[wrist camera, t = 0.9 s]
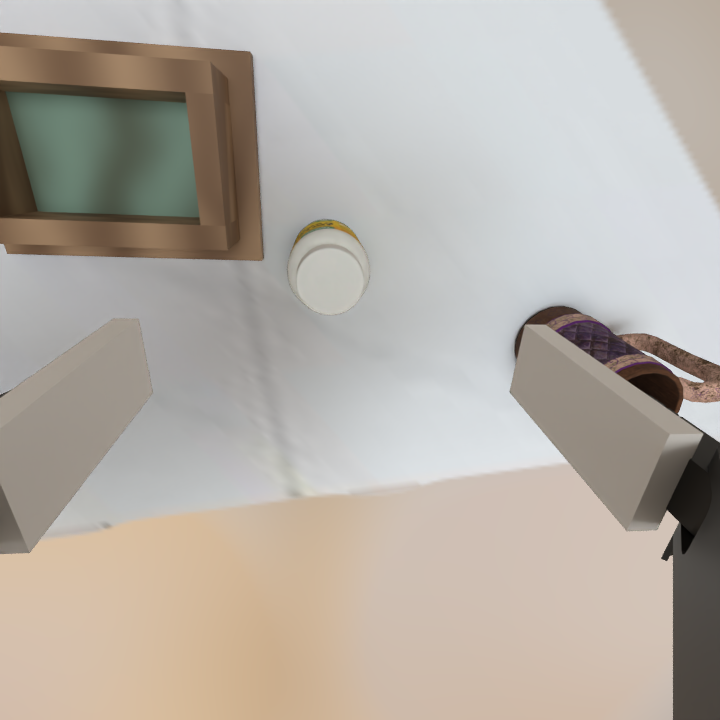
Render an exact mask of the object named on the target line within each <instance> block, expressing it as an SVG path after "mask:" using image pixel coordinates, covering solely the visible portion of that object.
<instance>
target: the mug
mask: <svg viewBox="0 0 720 720" xmlns="http://www.w3.org/2000/svg"><path fill="white" fill-rule="evenodd" d="M526 325H547V326H548V327H549V328H551V329H552V330H554V331H555V332H557V333H558V334H560V335H561V336H563V337H564V338H565V339H567V340H568V341H570V342H571V343H573V344H574V345H576V346H577V347H578V348H580V349H581V350H583V351H584V352H586V353H587V354H589V355H590V356H592V357H593V358H594V359H596V360H597V361H599V362H600V363H602V364H603V365H605V366H606V367H608V368H609V369H610V370H612V371H613V372H615V373H616V374H618V375H619V376H621V377H622V378H623V379H625V380H626V381H628V382H629V383H631V384H632V385H634V386H635V387H637V388H638V389H639V390H641V391H642V392H644V393H646V394H648V395H650V396H652V397H654V398H655V399H656V400H658V401H659V402H661V403H662V404H664V405H665V406H666V408H670V409H671V410H673V411H674V412H675V413H678V412H679V410H680V407H681V404H682V401H683V398H684V399H686V400H689V401H692V402H705V403H707V402H716V401H720V366H719V365H716V364H714V363H712V362H709V361H707V360H704V359H702V358H700V357H697V356H695V355H692V354H690V353H688V352H686V351H684V350H682V349H680V348H678V347H676V346H674V345H672V344H670V343H668V342H666V341H664V340H662V339H660V338H658V337H655V336H652V335H648V334H625V335H617V336H616V335H614V334H613V333H612V332H611V331H610V329H608V328H607V327H606V326H604V325H603V324H602V323H600V322H599V321H597V320H595V319H594V318H592V317H591V316H587V315H583V314H582V313H580V312H579V311H577V310H576V309H573V308H569V307H565V306H562V307H552V308H549V309H547V310H544V311H541V312H539V313H538V314H537V315H535V316H534V317H532V318H531V319H530V320H529V321H528V322H527V323H526ZM524 327H525V326H524ZM524 327H523V328H522V329H521V331H520V333H519V336H518V338H517V340H516V347H515V354H516V358H517V357H518V353H519V348H520V344H521V340H522V335H523V331H524ZM639 350H643V351H646V352H649V353H651V354H653V355H655V356H657V357H659V358H661V359H662V360H664V361H666V362H668V363H670V364H672V365H674V366H675V367H677V368H679V369H681V370H683V371H685V372H687V373H689V374H691V375H693V376H695V377H698V378H700V379H702V380H703V381H704V382H703V383H697V382H692V381H689V380H686V379H684V378H681V377H677V376H676V375H674V374H673V373H672V371H671V370H670V369H668V368H667V367H666V366H664V365H663V364H661V363H660V362H658V361H657V360H655V359H654V358H652V357H650V356H647V355H645V354H644V353H642V352H641V351H639Z"/></svg>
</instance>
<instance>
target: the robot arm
mask: <svg viewBox="0 0 720 720" xmlns="http://www.w3.org/2000/svg"><path fill="white" fill-rule="evenodd" d="M152 393H153V390H152V385H151V380H150V375H149V370H148V365H147V360H146V355H145V350H144V344H143V339H142V334H141V329H140V324H139V319H112V320H111V321H109V322H108V323H107V324H105V325H104V326H102V327H101V328H99V329H98V330H97V331H95V332H94V333H92V334H91V335H89V336H88V337H87V338H85V339H84V340H82V341H81V342H79V343H78V344H77V345H75V346H74V347H72V348H71V349H69V350H68V351H67V352H65V353H64V354H62V355H61V356H59V357H58V358H57V359H55V360H54V361H52V362H51V363H49V364H48V365H47V366H45V367H44V368H42V369H41V370H39V371H38V372H37V373H35V374H34V375H32V376H31V377H29V378H28V379H27V380H25V381H24V382H22V383H21V384H19V385H18V386H17V387H15V388H14V389H12V390H10V391H8V392H6V393H3V394H1V395H0V554H12V553H30V552H31V550H32V549H33V548H34V547H35V545H36V544H37V543H38V541H39V540H40V539H41V537H42V536H43V535H44V534H45V532H46V531H47V530H48V528H49V527H50V526H51V524H52V523H53V522H54V521H55V519H56V518H57V517H58V515H59V514H60V513H61V511H62V510H63V509H64V508H65V506H66V505H67V504H68V502H69V501H70V500H71V499H72V497H73V496H74V495H75V493H76V492H77V491H78V489H79V488H80V487H81V486H82V484H83V483H84V482H85V480H86V479H87V478H88V476H89V475H90V474H91V473H92V471H93V470H94V469H95V467H96V466H97V465H98V464H99V462H100V461H101V460H102V458H103V457H104V456H105V454H106V453H107V452H108V451H109V449H110V448H111V447H112V445H113V444H114V443H115V441H116V440H117V439H118V438H119V436H120V435H121V434H122V432H123V431H124V430H125V428H126V427H127V426H128V425H129V423H130V422H131V421H132V419H133V418H134V417H135V416H136V414H137V413H138V412H139V410H140V409H141V408H142V406H143V405H144V404H145V403H146V401H147V400H148V399H149V397H150V396H151V395H152ZM510 393H511V395H512V396H513V397H514V398H515V399H516V401H517V402H518V403H519V404H520V405H521V406H522V408H523V409H524V410H525V411H526V412H527V414H528V415H529V416H530V417H531V418H532V419H533V421H534V422H535V423H536V424H537V425H538V427H539V428H540V429H541V430H542V431H543V433H544V434H545V435H546V436H547V437H548V438H549V440H550V441H551V442H552V443H553V444H554V446H555V447H556V448H557V449H558V450H559V451H560V453H561V454H562V455H563V456H564V457H565V459H566V460H567V461H568V462H569V463H570V464H571V466H572V467H573V468H574V469H575V470H576V471H577V473H578V474H579V475H580V476H581V478H582V479H583V480H584V481H585V482H586V483H587V485H588V486H589V487H590V488H591V489H592V490H593V492H594V493H595V494H596V495H597V496H598V498H599V499H600V500H601V501H602V502H603V504H604V505H605V506H606V507H607V508H608V510H609V511H610V512H611V513H612V514H613V515H614V517H615V518H616V519H617V520H618V521H619V523H620V524H621V525H622V526H623V527H624V528H625V530H626V531H649V530H657V529H658V527H659V525H660V523H661V521H662V519H663V517H664V515H665V513H666V511H667V510H668V511H669V512H670V513H671V514H672V515H673V516H674V517H675V518H676V519H677V520H678V521H679V524H678V526H677V528H676V530H675V532H674V534H673V536H672V538H671V540H670V542H669V544H668V546H667V547H666V549H665V551H664V554H663V556H662V558H661V559H663V560H665V561H667V560H668V558H669V556H671V555H673V720H720V443H719V442H718V441H716V440H715V439H714V438H712V437H711V436H709V435H708V434H706V433H705V432H703V431H702V430H700V429H699V428H697V427H696V426H694V425H693V424H692V423H690V422H689V421H687V420H686V419H684V418H683V417H679V415H678V414H677V413H675V412H674V411H673V410H671V409H670V408H666V406H665V405H664V404H662V403H661V402H659V401H658V400H656V399H655V398H654V397H652V396H650V395H648V394H646V393H644V392H642V391H641V390H639V389H638V388H637V387H635V386H634V385H632V384H631V383H629V382H628V381H626V380H625V379H623V378H622V377H621V376H619V375H618V374H616V373H615V372H613V371H612V370H610V369H609V368H608V367H606V366H605V365H603V364H602V363H600V362H599V361H597V360H596V359H594V358H593V357H592V356H590V355H589V354H587V353H586V352H584V351H583V350H581V349H580V348H578V347H577V346H576V345H574V344H573V343H571V342H570V341H568V340H567V339H565V338H564V337H563V336H561V335H560V334H558V333H557V332H555V331H554V330H552V329H551V328H549V327H548V326H547V325H526V324H525V327H524V331H523V335H522V340H521V344H520V348H519V353H518V357H517V362H516V366H515V370H514V375H513V379H512V383H511V388H510Z"/></svg>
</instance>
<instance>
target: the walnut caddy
mask: <svg viewBox="0 0 720 720" xmlns="http://www.w3.org/2000/svg"><path fill="white" fill-rule="evenodd" d="M0 244H4V245H5V248H6V252H7V254H36V255H72V256H108V257H145V258H181V259H218V260H254V261H262V260H263V258H264V257H263V239H262V220H261V202H260V184H259V166H258V147H257V129H256V111H255V93H254V75H253V56H252V54H251V53H250V52H248V51H234V50H221V49H208V48H195V47H182V46H169V45H156V44H143V43H130V42H117V41H104V40H91V39H77V38H64V37H51V36H38V35H25V34H12V33H0Z"/></svg>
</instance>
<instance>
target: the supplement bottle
mask: <svg viewBox="0 0 720 720" xmlns="http://www.w3.org/2000/svg"><path fill="white" fill-rule="evenodd" d="M287 274H288V280H289V284H290V286H291V288H292V290H293V292H294V294H295V295H296V296H297V298H298V299H299V300H300V301H301V302H302V303H304V304H305V305H306V306H307V307H308V308H310V309H311V310H313V311H315V312H317V313H320V314H323V315H337V314H341V313H344V312H346V311H348V310H349V309H351V308H352V307H353V306H354V305H355V304H356V303H357V302H358V301H359V299H360V298H361V296H362V295H363V294H364V292H365V290H366V288H367V285H368V282H369V278H370V264H369V260H368V257H367V254H366V252H365V250H364V248H363V246H362V245H361V243H360V242H359V240H358V238H357V237H356V235H355V234H354V233H353V231H352V230H351V229H350V228H349V227H348V226H346V225H345V224H343V223H341V222H338V221H335V220H329V219H322V220H317V221H314V222H312V223H310V224H308V225H307V226H306V227H305V228H303V229H302V231H301V232H300V233H299V235H298V236H297V238H296V240H295V243H294V246H293V248H292V251H291V253H290V256H289V260H288V265H287Z"/></svg>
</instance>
